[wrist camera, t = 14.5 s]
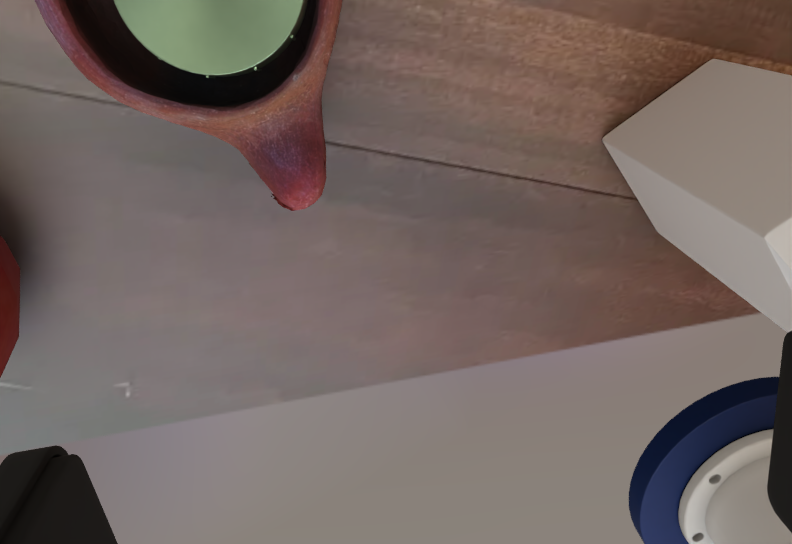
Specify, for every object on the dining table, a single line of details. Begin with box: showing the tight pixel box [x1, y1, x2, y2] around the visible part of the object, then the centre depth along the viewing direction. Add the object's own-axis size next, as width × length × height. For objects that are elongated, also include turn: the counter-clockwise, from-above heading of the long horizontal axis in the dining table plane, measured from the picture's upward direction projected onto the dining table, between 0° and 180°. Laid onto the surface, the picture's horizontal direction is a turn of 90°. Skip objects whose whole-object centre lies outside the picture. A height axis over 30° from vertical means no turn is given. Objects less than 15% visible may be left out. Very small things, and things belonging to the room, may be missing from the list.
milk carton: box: [602, 59, 792, 333], centre depth 29 cm, size 7×7×19 cm
